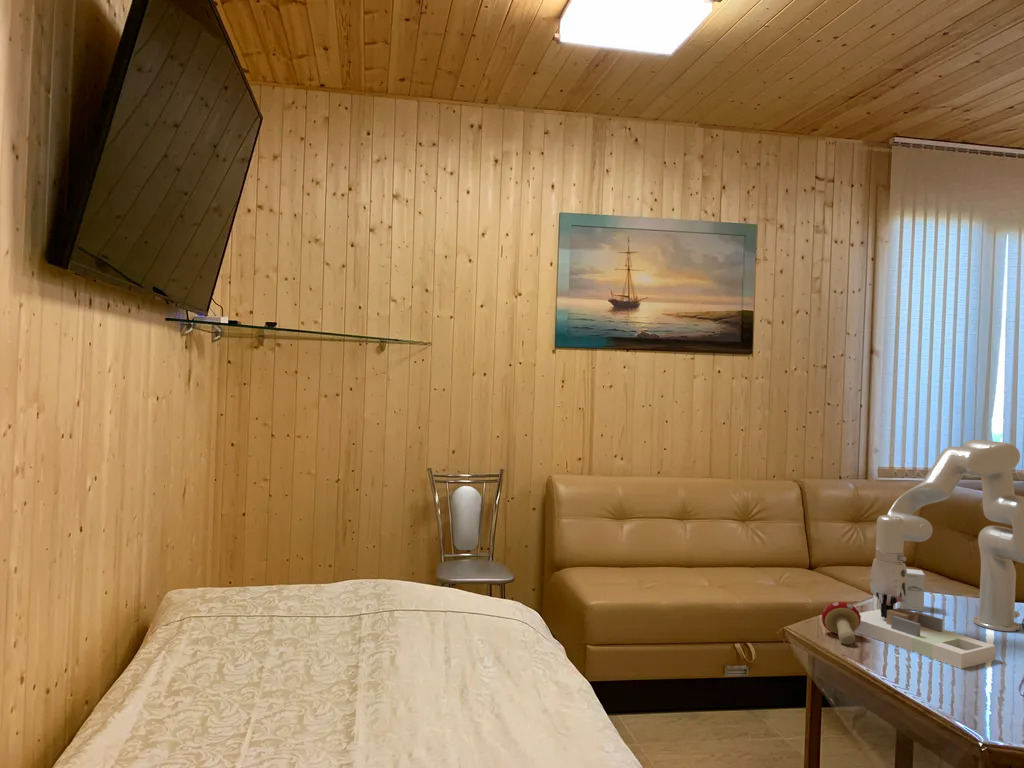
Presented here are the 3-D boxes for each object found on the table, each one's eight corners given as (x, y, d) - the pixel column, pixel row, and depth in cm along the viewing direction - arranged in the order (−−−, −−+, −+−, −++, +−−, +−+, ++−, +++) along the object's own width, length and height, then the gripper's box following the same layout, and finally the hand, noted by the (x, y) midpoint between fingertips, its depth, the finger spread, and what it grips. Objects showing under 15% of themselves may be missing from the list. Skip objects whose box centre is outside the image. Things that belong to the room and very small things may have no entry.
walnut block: (899, 621, 234) (899, 608, 234) (917, 627, 229) (918, 613, 229) (886, 623, 231) (886, 610, 231) (904, 629, 226) (905, 616, 226)
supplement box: (899, 609, 261) (900, 571, 261) (896, 603, 268) (898, 567, 268) (923, 612, 259) (925, 574, 259) (920, 606, 266) (921, 569, 266)
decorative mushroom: (857, 620, 219) (846, 588, 232) (820, 635, 223) (811, 603, 236) (876, 648, 221) (864, 615, 234) (839, 663, 225) (830, 629, 238)
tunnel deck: (878, 621, 246) (879, 598, 246) (995, 660, 215) (996, 633, 215) (845, 628, 238) (846, 604, 238) (960, 668, 207) (962, 641, 207)
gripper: (920, 561, 230) (917, 622, 230) (875, 550, 243) (873, 608, 243) (904, 563, 226) (901, 626, 226) (859, 552, 239) (857, 611, 240)
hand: (886, 616), depth 235 cm, fingers closed
